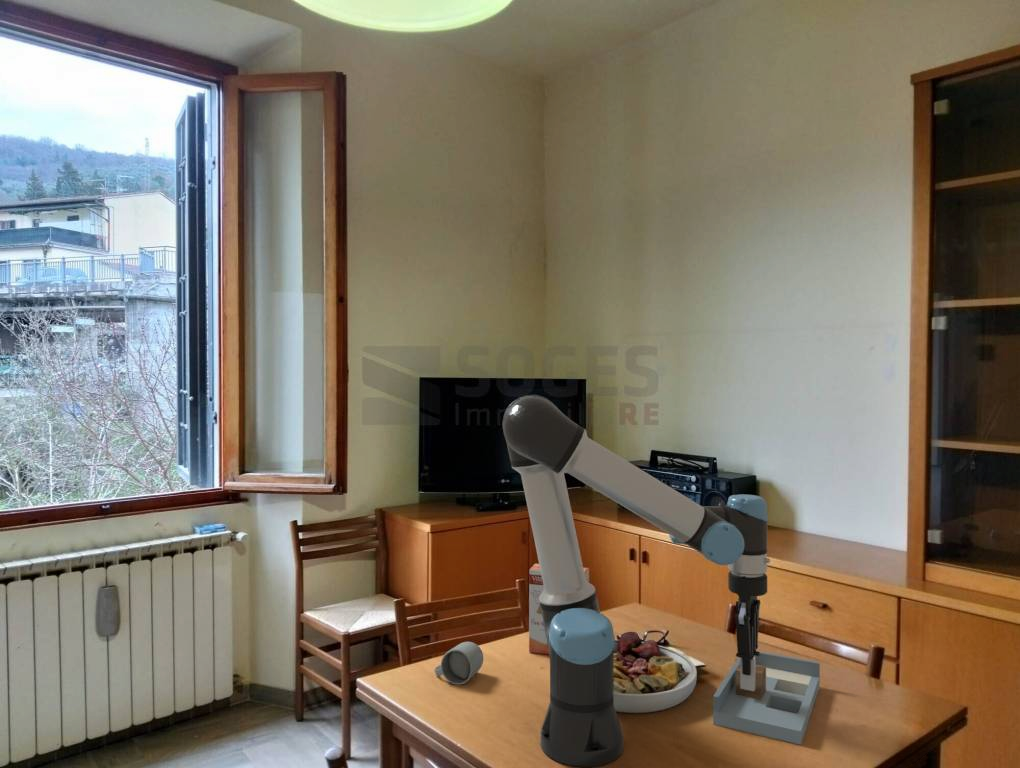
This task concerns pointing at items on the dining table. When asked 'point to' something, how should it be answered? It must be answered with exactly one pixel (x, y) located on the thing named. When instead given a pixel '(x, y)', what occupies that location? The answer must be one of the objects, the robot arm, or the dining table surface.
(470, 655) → the ceramic mug
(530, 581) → the cracker box
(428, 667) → the dining table surface
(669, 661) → the bowl
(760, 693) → the block
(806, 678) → the box
